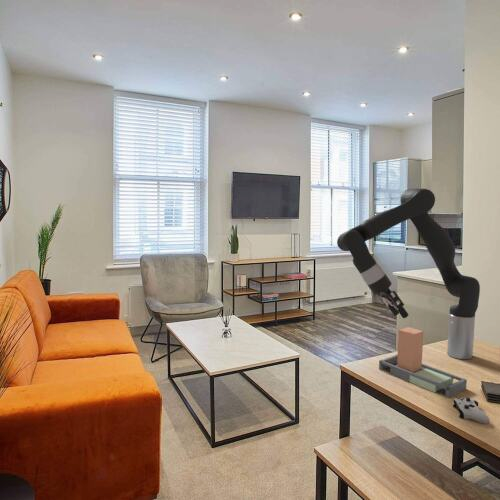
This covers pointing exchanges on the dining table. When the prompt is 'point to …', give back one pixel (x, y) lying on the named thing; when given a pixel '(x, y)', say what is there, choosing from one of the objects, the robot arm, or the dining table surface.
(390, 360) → the box
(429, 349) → the dining table surface
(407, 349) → the terracotta block
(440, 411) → the dining table surface
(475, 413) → the gaming controller
